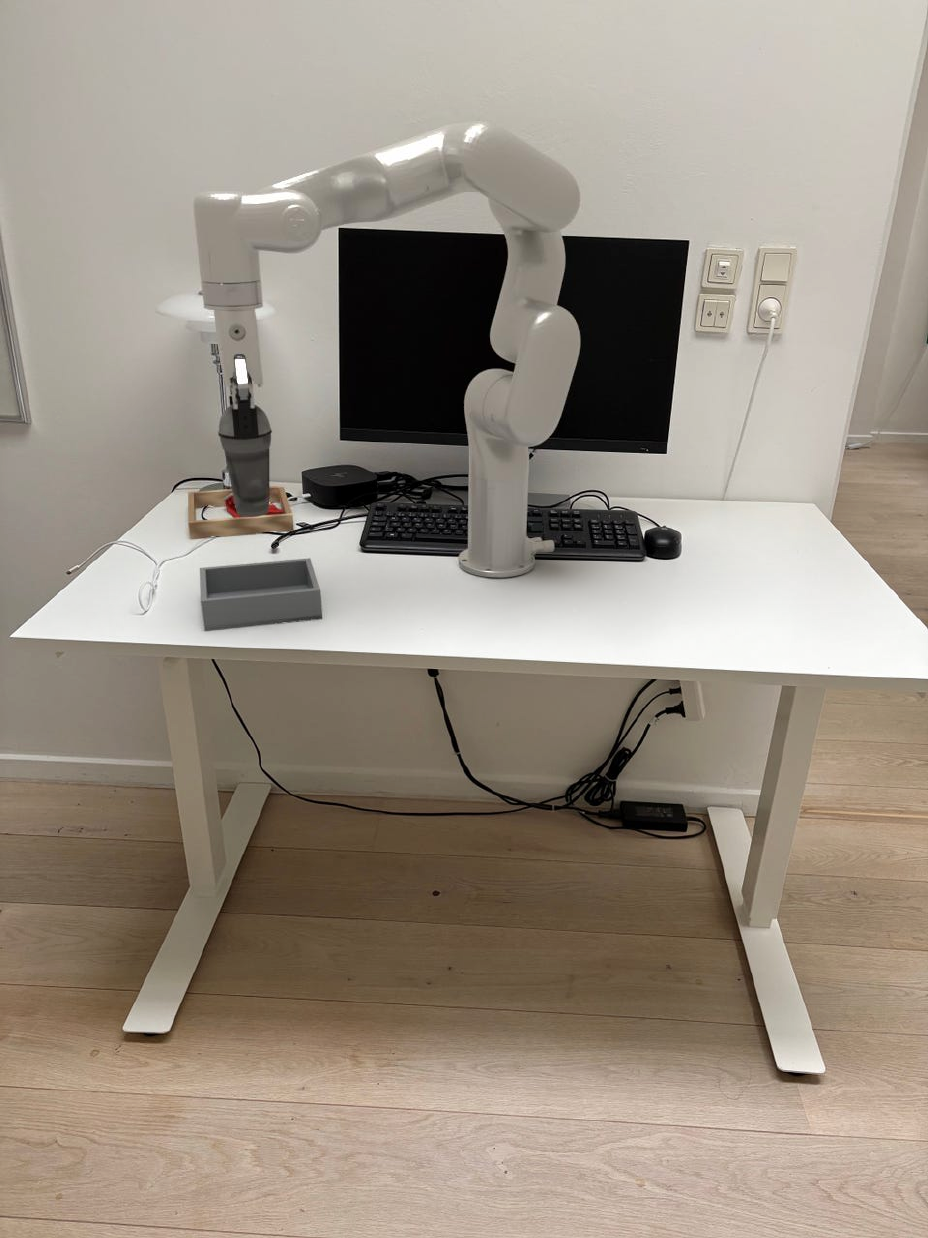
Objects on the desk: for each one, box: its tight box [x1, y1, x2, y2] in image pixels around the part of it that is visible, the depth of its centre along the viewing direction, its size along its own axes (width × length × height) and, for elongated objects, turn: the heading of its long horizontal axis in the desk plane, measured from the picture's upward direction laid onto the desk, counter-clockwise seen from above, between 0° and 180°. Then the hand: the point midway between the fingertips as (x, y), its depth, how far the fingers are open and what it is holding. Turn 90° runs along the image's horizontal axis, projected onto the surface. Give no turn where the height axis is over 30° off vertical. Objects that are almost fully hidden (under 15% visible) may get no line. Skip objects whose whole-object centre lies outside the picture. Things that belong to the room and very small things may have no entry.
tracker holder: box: [223, 493, 283, 518], centre depth 179 cm, size 12×4×10 cm
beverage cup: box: [217, 380, 273, 517], centre depth 132 cm, size 7×7×20 cm
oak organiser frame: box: [187, 485, 295, 540], centre depth 178 cm, size 18×18×3 cm
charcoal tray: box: [199, 558, 323, 632], centre depth 142 cm, size 17×13×5 cm
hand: (245, 429), depth 132 cm, fingers closed on beverage cup, 7 cm apart
